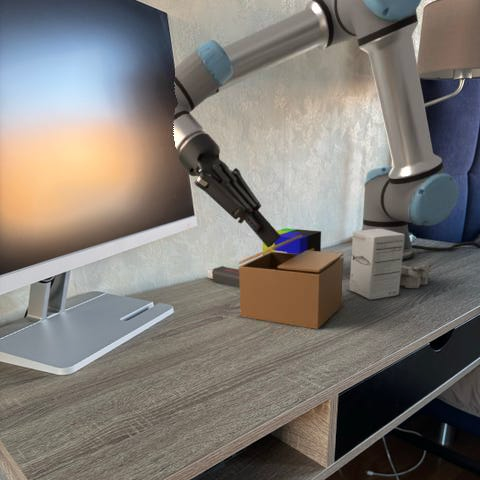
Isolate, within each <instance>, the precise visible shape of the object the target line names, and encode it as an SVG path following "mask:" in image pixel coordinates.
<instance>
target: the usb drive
mask: <svg viewBox="0 0 480 480" xmlns="http://www.w3.org/2000/svg"><path fill="white" fill-rule="evenodd" d="M206 274H207V279H212V281H213V282H214V283H217V284H222V285H223V284H224V285H227V286H231V287H236V288H239V289H240V281H239V268H232V267H228V266H223V265H221V266H218V267H215V268H211V269H208V270H206Z"/></svg>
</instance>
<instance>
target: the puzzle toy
mask: <svg viewBox="0 0 480 480" xmlns="http://www.w3.org/2000/svg"><path fill="white" fill-rule="evenodd" d="M276 231H277V232H278V234H279V235H280V236H281V237H280V238H279V239H278V240H277V241H276V242H275V243H274V244H273V245H272V246H270V247H267V246H266V245H265V244H264V242H263V241H262V251H264V250H266V249H269V248H271V247H273V246H275V245H278V244H280V243H282V242H285V241H287V240H289V239H292V238H294V237H297V236H299V235H301V234H302V237H300V238H298V239H296V240H293V241H291V242H289V243H287V244H285V245H283V246H281V247H279V248H277V249H274V250H272V251H270V252H281V253H293V254H301V253H302V252H304V251H319V252H322V250H321V249H322V248H321V247H322V231H321V230H310V229H300V228H299V229H298V228H287V227H285V228H281V229H279V230H276ZM267 253H269V252H267ZM267 253H265V254H267ZM265 254H263V255H265ZM263 255H262V256H263Z"/></svg>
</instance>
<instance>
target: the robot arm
mask: <svg viewBox="0 0 480 480" xmlns="http://www.w3.org/2000/svg"><path fill="white" fill-rule="evenodd" d="M421 2H422V0H310V1H308V2H307V3H306V5H305V8H304V9H303V10H301V11H298V12H297V13H295V14H292V15H290V16H288V17H286V18H284V19H281V20H279V21H277V22H275V23H273V24H271V25H268V26H266V27H264V28H262V29H260V30H258V31H255V32H253V33H251V34H248V35H246V36H244V37H243V38H240V39H238V40H236V41H234V42H232V43H230V44H227V45H225V46H223V47H222V46H221V45H220V44H219V43H218V42H217V41H216V40H213V39H208V40H206V41H205V42H204V43H202V44H201V45H200V46H197V47H196V49H194V51H192V52H191V53H190V54H189V55H187V57H185V58H184V59H183V60H182V61H181V62H180V63H179V64H177V65H176V66H175V67H174V68H175V78H174V85H175V87H174V88H175V90H174V91H175V95H176V98H177V101H178V105H177V107H176V108H175V113H174V119H175V120H174V121H173V122H174V123H173V124H174V126H173V127H174V128H173V129H174V130H173V131H174V132H173V133H174V135H173V136H174V141H175V147H176V149H177V151H179V153H180V154H179V160H180V162H181V164H182V166H183V167H182V166H181V167H182V168H183V169H184V171H186V173H187V174H188V175H189V176H191V177H197V178H196V180H195V181H194V182H193V183H194V185H195V186H196V187H197V188H199V189H200V190H202V191H204V192H205V193H206V194H207V195H208V196H209V197H210V198H211V199H212V200H213V201H214V202H216V203H217V204H218V205H219V206H220V207H221V208H222V209H223V210H224V211H225V212H226V213H228V215H230V216H231V217H232V218H233V219H234V220H238V221H237V223H238V224H243V223H244V222H245V223H246V224H247V225H248V226H249V228H250V229H251V230H252V231H253V232H254V233H255V235H256V236H257V237H258V238H259V239H260V240H261V241H262V243H263V242H264V244H265V245H266V246H267V247H270V246H272V245H273V244H274V243H275V242H276V241H277V240H278V239H279V238H280V237H281V236H280V235H279V234H278V232H277V231H278V230H276V229H275V228H274V227H273V225H272V224H271V223H270V222H269V221H268V219H266V217H265V216H264V215H263V214H262V213H261V212H260V211H259V210H260V209H261V208H262V204H261V202H260V201H259V200H258V197H256V195H255V194H254V192H253V190H252V189H251V188H250V187H249V185H248V184H247V182H246V180H245V179H244V178H243V176H242V174H241V171H240V170H239V169H238V168H237V167H234V168H233V170H231V169H230V168H229V166H228V165H227V163H225V162H224V161H223V160H221V159H220V154H221V148H220V146H219V145H218V144H217V142H216V141H215V140H214V139H213V137H211V136H210V134H208V133H207V130H206V129H205V128H204V127H203V125H201V123H199V122H198V121H197V119H196V118H195V117H194V116H193V115H192V114H191V112H192V111H194V110H195V108H196V107H198V106H199V105H200V104H202V103H203V102H204V101H206V99H208V98H210V97H213V96H214V95H216V94H219V93H220V92H222V91H225V90H227V89H229V88H232V87H234V86H236V85H238V84H240V83H242V82H244V81H246V80H249V79H250V78H253V77H255V76H258V75H259V74H262V73H263V72H266V71H267V70H269V69H272V68H274V67H277V66H278V65H281V64H283V63H285V62H287V61H289V60H291V59H294V58H296V57H298V56H301V55H303V54H305V53H307V52H309V51H311V50H313V49H316V50H318V51H322V50H325V49H327V48H329V47H332V46H334V45H337V44H340V43H345V42H348V41H350V40H355V39H356V40H357V45H358V48H359V50H361V51H364V52H365V53H367V55H368V56H369V62H370V66H371V70H372V75H373V80H374V85H375V89H376V93H377V98H378V102H379V103H378V104H379V107H380V112H381V116H382V121H383V125H384V129H385V132H386V133H385V135H386V139H387V144H388V148H389V152H390V158H391V161H392V166H391V165H390V166H384V167H376V168H371V169H369V170H368V171H367V172H366V173H365V180H364V184H363V185H364V186H363V187H364V196H363V211H362V227H361V229H360V231H362V230H370V229H385V230H389V231H393V232H397V233H401V234H405V237H404V246H403V256H402V261H403V260H408V259H410V258H412V256H413V250H414V249H415V250H423V251H432V252H450V251H453V250H454V249H455V248H460V247H465V246H474V247H476V248H477V249H480V243H478V242H476V241H464V242H463V241H462V242H459V243H454V244H452V245H451V246H447V247H437V246H436V247H434V246H424V245H418V244H417V245H416V244H412V241H411V236H410V233H409V227H408V226H409V223H410V224H413V225H415V226H426V227H431V226H435V225H437V224H440V223H441V222H443V221H444V220H446V219H447V218H448V217H449V216H450V215H451V214H452V211H453V209H454V208H455V207H456V205H457V203H458V199H459V185H458V182H457V180H456V179H455V178H454V177H453V176H452V175H450V174H449V173H445V170H444V164H443V158H442V157H441V156H439V155H436V154H435V153H434V152H433V151H434V150H433V145H432V139H431V135H430V129H429V122H428V118H427V112H426V106H425V101H424V95H423V90H422V84H421V78H420V73H419V68H418V62H417V57H416V51H415V50H416V49H415V45H414V39H413V34H414V32H415V30H416V28H417V26H418V25H419V20H418V13H417V10H418V7H419V6H420V4H421ZM176 84H177V85H176ZM179 116H180V117H179ZM177 117H178V118H177ZM176 118H177V119H176ZM179 160H178V161H179ZM181 164H180V165H181Z"/></svg>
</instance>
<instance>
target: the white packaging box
mask: <svg viewBox="0 0 480 480" xmlns="http://www.w3.org/2000/svg"><path fill="white" fill-rule="evenodd" d="M361 230H362V229H361ZM361 230H355V231H352V243H351V261H350V275H349V291H350V292H351V291H352V292H354V293H355V294H358V295H360V296H361V297H364V298H366V299H367V300H371V301H372V300H376V299H383V298H390V297H395V296H399V294H400V293H399V292H400V286H401V285H400V275H401V266H403V265H402V264H403V260H402V256H403V246H404V237H405V234H401V233H397V232H393V231H389V230H385V229H370V230H362V231H361Z"/></svg>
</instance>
